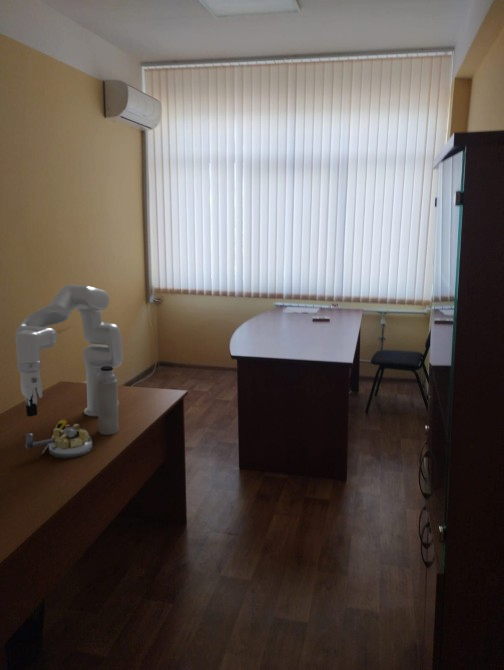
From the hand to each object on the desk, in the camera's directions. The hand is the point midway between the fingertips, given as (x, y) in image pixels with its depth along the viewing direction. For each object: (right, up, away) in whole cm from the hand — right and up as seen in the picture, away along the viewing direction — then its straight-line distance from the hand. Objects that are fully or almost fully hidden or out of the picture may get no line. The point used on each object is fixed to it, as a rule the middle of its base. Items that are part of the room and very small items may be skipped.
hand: (31, 415), depth 192 cm
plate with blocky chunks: (+8, -15, +17) cm, 24 cm away
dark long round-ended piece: (+5, -13, +12) cm, 19 cm away
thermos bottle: (+18, -12, +34) cm, 40 cm away
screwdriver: (-1, -14, +23) cm, 27 cm away
